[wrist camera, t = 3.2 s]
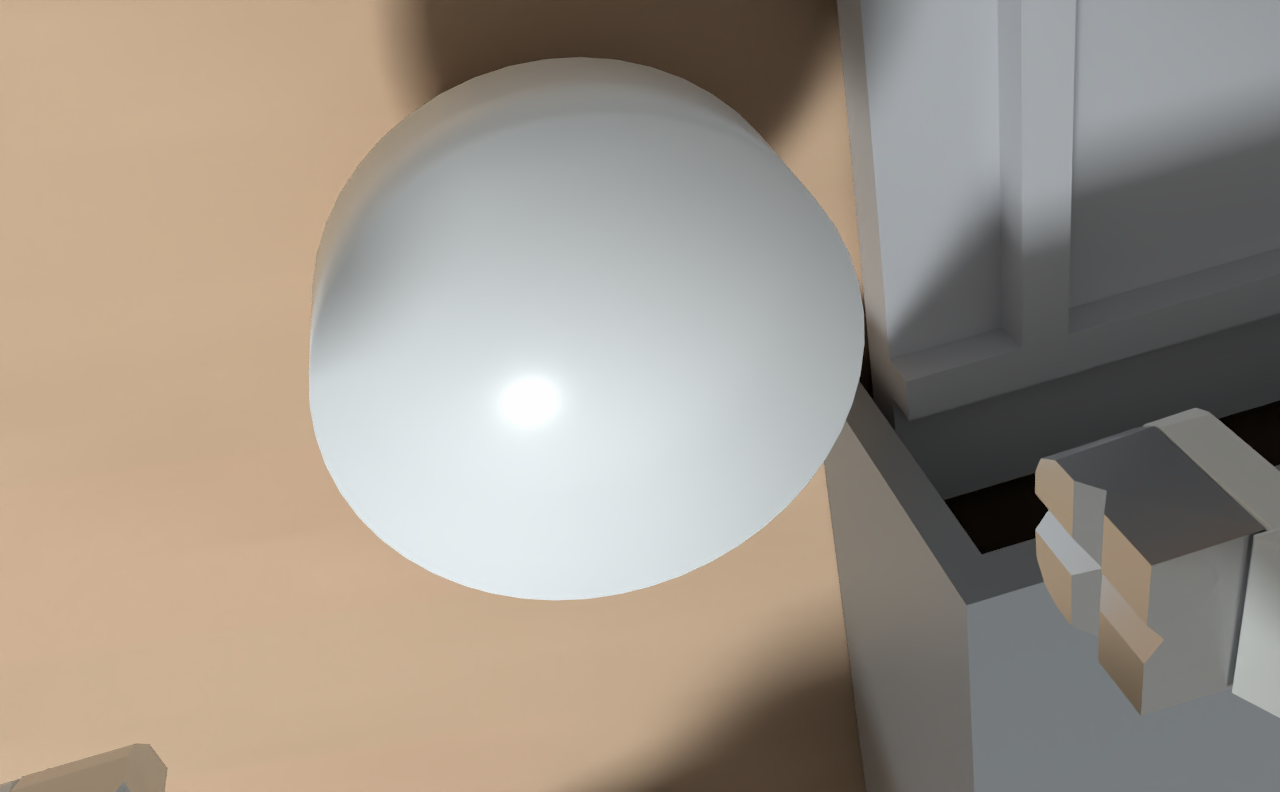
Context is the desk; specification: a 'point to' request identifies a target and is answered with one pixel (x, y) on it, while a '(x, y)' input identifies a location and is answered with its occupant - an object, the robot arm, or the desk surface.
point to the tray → (1062, 219)
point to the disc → (577, 332)
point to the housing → (996, 658)
